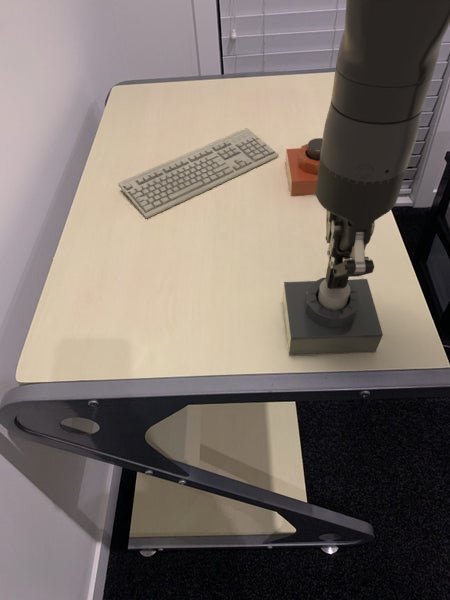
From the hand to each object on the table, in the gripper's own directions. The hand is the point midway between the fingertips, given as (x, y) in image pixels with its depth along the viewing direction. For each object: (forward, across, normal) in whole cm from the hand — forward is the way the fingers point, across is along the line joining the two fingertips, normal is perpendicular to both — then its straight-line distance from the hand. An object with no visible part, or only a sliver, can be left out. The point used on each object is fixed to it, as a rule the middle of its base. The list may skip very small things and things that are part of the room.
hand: (335, 283), depth 51 cm
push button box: (+8, 0, 0) cm, 8 cm away
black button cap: (+4, +33, -3) cm, 33 cm away
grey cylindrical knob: (+3, 0, 0) cm, 3 cm away
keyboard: (+9, +36, +18) cm, 41 cm away
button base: (+8, +33, -3) cm, 34 cm away
